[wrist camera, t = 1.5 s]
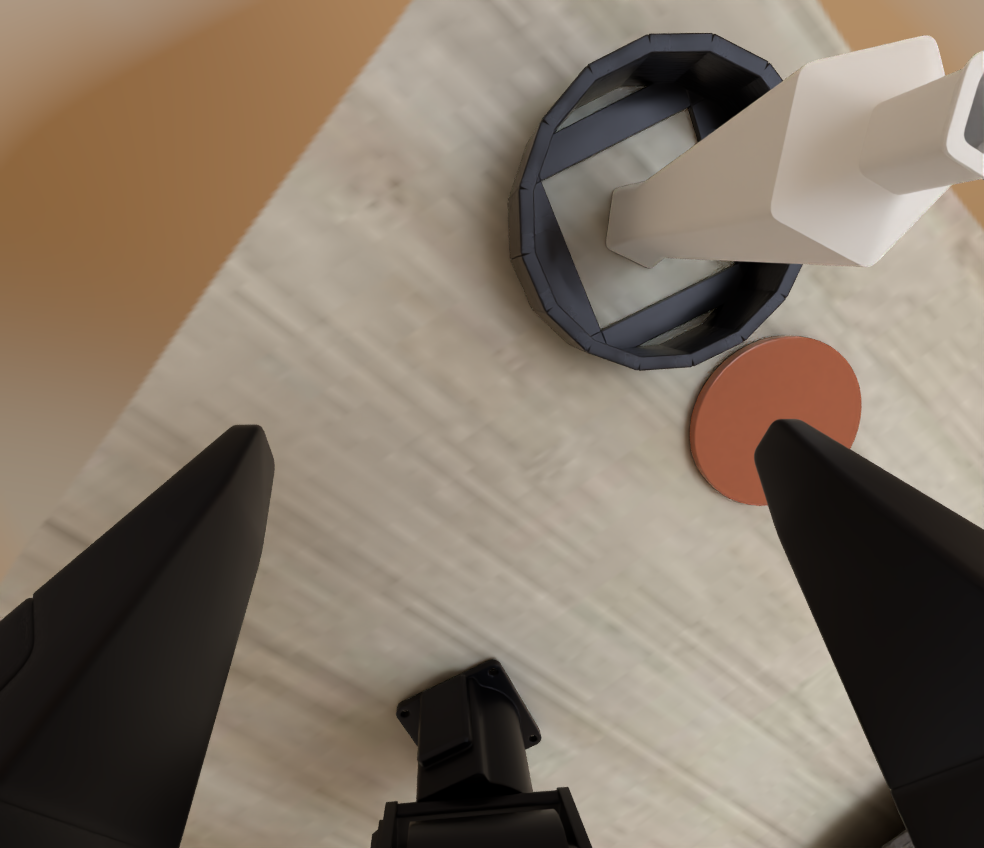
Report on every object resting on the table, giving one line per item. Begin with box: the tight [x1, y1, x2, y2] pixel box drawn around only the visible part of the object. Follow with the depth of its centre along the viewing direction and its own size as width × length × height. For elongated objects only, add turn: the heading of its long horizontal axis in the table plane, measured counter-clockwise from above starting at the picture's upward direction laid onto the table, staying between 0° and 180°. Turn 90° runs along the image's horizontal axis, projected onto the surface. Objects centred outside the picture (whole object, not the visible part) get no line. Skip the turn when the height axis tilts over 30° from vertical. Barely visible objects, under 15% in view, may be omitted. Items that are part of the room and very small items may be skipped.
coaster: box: [690, 336, 861, 506], centre depth 26 cm, size 9×9×1 cm
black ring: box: [508, 33, 803, 371], centre depth 21 cm, size 12×12×3 cm
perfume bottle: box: [606, 36, 984, 268], centre depth 15 cm, size 5×4×15 cm
